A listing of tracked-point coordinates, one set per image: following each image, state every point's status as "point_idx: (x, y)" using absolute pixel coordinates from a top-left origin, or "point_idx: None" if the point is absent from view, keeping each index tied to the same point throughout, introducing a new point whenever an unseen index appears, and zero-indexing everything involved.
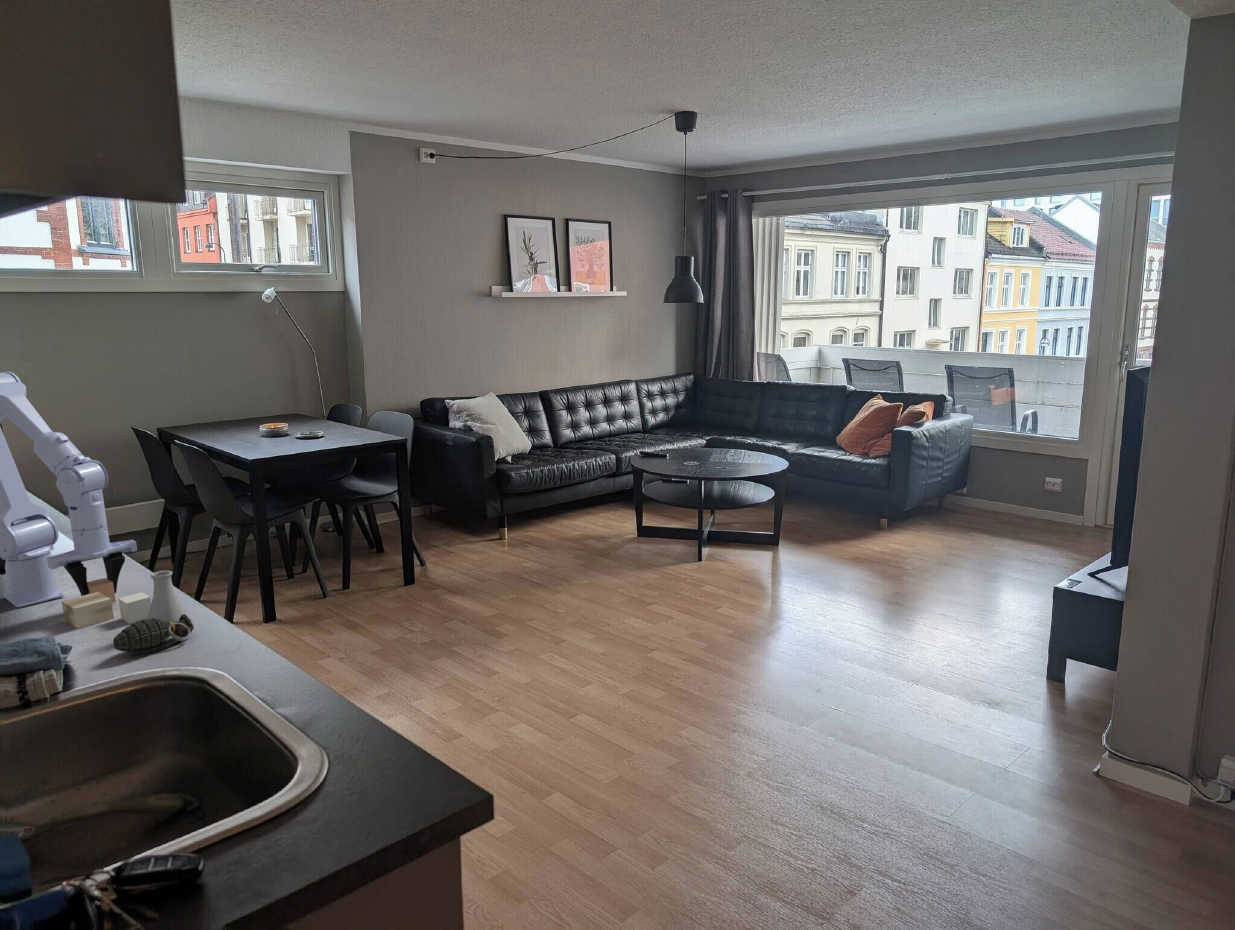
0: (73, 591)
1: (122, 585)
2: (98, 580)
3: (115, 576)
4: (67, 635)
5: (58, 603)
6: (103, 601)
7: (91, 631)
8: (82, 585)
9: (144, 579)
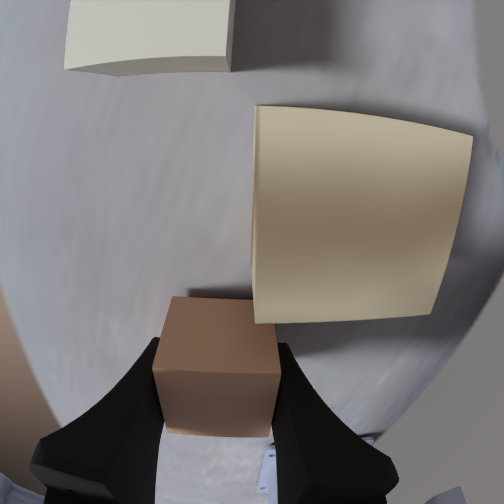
0: (233, 457)
1: None
2: (202, 427)
3: (127, 392)
4: (458, 85)
5: None
6: (314, 111)
7: (391, 32)
8: (311, 396)
9: (67, 413)
